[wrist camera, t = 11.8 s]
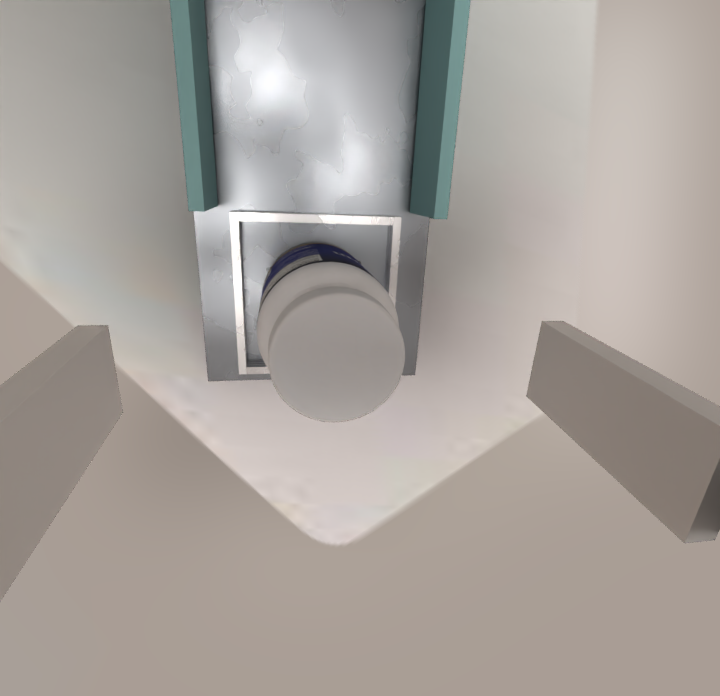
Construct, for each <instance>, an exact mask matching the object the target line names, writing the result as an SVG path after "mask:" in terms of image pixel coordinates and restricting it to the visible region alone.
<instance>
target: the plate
mask: <svg viewBox="0 0 720 696" xmlns="http://www.w3.org/2000/svg"><path fill="white" fill-rule="evenodd" d="M204 8H205V23H206V38H207V53H208V67H209V82H210V97H211V112H212V127H213V142H214V156H215V171H216V186H217V201H218V206H217V207H215V208H212V209H210V210H207V211H205V212H201V211H194V222H195V234H196V245H197V257H198V269H199V280H200V292H201V304H202V315H203V327H204V338H205V350H206V362H207V373H208V381H230V380H264V379H271V377H270V372H269V369H268V368H267V366H266V364H265V363H264V361H263V359H262V356H261V354H260V351H259V347H258V341H257V319H258V313H259V307H260V302H261V296H262V290H263V285H264V281H265V279H266V276H267V274H268V272H269V270H270V268H271V267H272V265H273V264H274V263H275V262H276V260H277V259H278V258H279V257H280V256H281V255H283V254H284V253H285V252H287V251H288V250H290V249H292V248H294V247H296V246H299V245H302V244H307V243H327V244H332V245H335V246H337V247H340V248H342V249H343V250H345V251H347V252H348V253H349V254H351V255H352V256H353V257H354V258H355V259H356V260H357V261H358V262H359V263H360V264H361V265H362V266H363V267H364V268H365V269H366V270H367V271H368V272H369V273H370V274H371V275H372V276H373V277H374V278H375V279H376V280H377V281H378V282H379V283H380V284H381V285H382V286H383V287H384V288H385V290H386V291H387V293H388V294H389V296H390V298H391V299H392V301H393V304H394V306H395V309H396V312H397V316H398V322H399V329H400V331H401V334H402V337H403V341H404V346H405V363H404V368H403V372H402V375H415V370H416V359H417V348H418V337H419V326H420V316H421V305H422V294H423V283H424V272H425V262H426V251H427V240H428V229H429V217H425V216H421V215H417V214H413V213H410V202H411V189H412V176H413V163H414V150H415V137H416V124H417V111H418V98H419V85H420V72H421V59H422V47H423V34H424V21H425V8H426V0H204Z"/></svg>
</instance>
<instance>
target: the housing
mask: <svg viewBox="0 0 720 696" xmlns="http://www.w3.org/2000/svg"><path fill="white" fill-rule="evenodd" d="M170 8H171V20H172V31H173V42H174V53H175V64H176V75H177V86H178V98H179V109H180V120H181V131H182V142H183V153H184V164H185V176H186V187H187V198H188V209H189V211H201V212H205V211H207V210H210V209H212V208H215V207H217V206H218V201H217V186H216V171H215V156H214V142H213V127H212V112H211V97H210V82H209V67H208V53H207V38H206V23H205V8H204V0H170ZM469 9H470V0H426V8H425V21H424V34H423V47H422V59H421V72H420V85H419V98H418V111H417V124H416V137H415V150H414V163H413V176H412V189H411V202H410V213H413V214H417V215H421V216H425V217H429V218H433V219H447V216H448V207H449V197H450V188H451V178H452V169H453V159H454V150H455V141H456V131H457V122H458V112H459V103H460V93H461V84H462V75H463V65H464V56H465V46H466V37H467V28H468V18H469Z"/></svg>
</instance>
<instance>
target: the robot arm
mask: <svg viewBox="0 0 720 696" xmlns="http://www.w3.org/2000/svg"><path fill="white" fill-rule="evenodd" d="M526 396H527V397H528V398H529V399H530V400H531V401H532V402H533V403H534V404H535V405H536V406H538V407H539V408H540V409H541V410H542V411H543V412H544V413H545V414H546V415H547V416H548V417H549V418H550V419H551V420H553V421H554V422H555V423H556V424H557V425H558V426H559V427H560V428H561V429H562V430H563V431H564V432H566V433H567V434H568V435H569V436H570V437H571V438H572V439H573V440H574V441H575V442H576V443H577V444H578V445H579V446H580V447H581V448H583V449H584V450H585V451H586V452H587V453H588V454H589V455H590V456H591V457H592V458H593V459H594V460H596V462H598V463H599V464H600V465H601V466H602V467H603V468H604V469H605V470H606V471H607V472H608V473H609V474H611V475H612V476H613V477H614V478H615V479H616V480H617V481H618V482H619V483H620V484H621V485H622V486H623V487H624V488H626V489H627V490H628V491H629V492H630V493H631V494H632V495H633V496H634V497H635V498H636V499H637V500H638V501H639V502H640V503H642V504H643V505H644V506H645V507H646V508H647V509H648V510H649V511H650V512H651V513H652V514H653V515H655V516H656V517H657V518H658V519H659V520H660V521H661V522H662V523H663V524H664V525H665V526H666V527H667V528H668V529H669V530H670V531H672V532H673V533H674V534H675V535H676V536H677V537H678V538H679V539H680V540H681V541H682V542H683V543H693V542H702V541H711V540H715V539H716V537H717V534H718V532H719V530H720V406H718V405H716V404H715V403H713V402H711V401H709V400H707V399H705V398H704V397H702V396H700V395H698V394H696V393H695V392H693V391H691V390H689V389H687V388H685V387H683V386H682V385H680V384H678V383H676V382H674V381H672V380H670V379H669V378H667V377H665V376H663V375H661V374H659V373H658V372H656V371H654V370H652V369H650V368H649V367H647V366H645V365H643V364H641V363H639V362H638V361H636V360H634V359H632V358H630V357H628V356H626V355H625V354H623V353H621V352H619V351H617V350H615V349H614V348H612V347H610V346H608V345H606V344H604V343H603V342H601V341H599V340H597V339H595V338H593V337H592V336H590V335H588V334H586V333H584V332H582V331H581V330H579V329H577V328H575V327H573V326H571V325H570V324H568V323H566V322H564V321H542V323H541V328H540V333H539V338H538V342H537V347H536V352H535V357H534V362H533V366H532V371H531V376H530V381H529V386H528V390H527V395H526ZM122 413H123V409H122V403H121V397H120V392H119V386H118V380H117V374H116V370H115V363H114V357H113V352H112V346H111V340H110V335H109V329H108V325H88V326H77V327H75V328H74V329H73V330H71V331H70V332H69V333H67V334H66V335H65V336H64V337H62V338H61V339H60V340H58V341H57V342H56V343H55V344H53V345H52V346H51V347H49V348H48V349H47V350H46V351H44V352H43V353H42V354H40V355H39V356H38V357H36V358H35V359H34V360H33V361H32V362H30V363H29V364H27V365H26V366H25V367H24V368H22V369H21V370H20V371H18V372H17V373H16V374H14V375H13V376H12V377H11V378H9V379H8V380H7V381H6V382H4V383H3V384H2V385H0V601H1V600H2V598H3V597H4V595H5V594H6V592H7V591H8V589H9V587H10V586H11V584H12V583H13V581H14V580H15V578H16V576H17V575H18V574H19V572H20V571H21V569H22V568H23V566H24V564H25V563H26V561H27V560H28V558H29V557H30V555H31V553H32V552H33V551H34V549H35V547H36V546H37V544H38V543H39V541H40V540H41V538H42V537H43V535H44V534H45V532H46V530H47V529H48V527H49V526H50V524H51V523H52V521H53V520H54V518H55V517H56V515H57V513H58V512H59V510H60V509H61V507H62V506H63V504H64V503H65V501H66V500H67V498H68V497H69V495H70V493H71V492H72V490H73V489H74V487H75V486H76V484H77V483H78V481H79V480H80V478H81V476H82V475H83V473H84V472H85V470H86V469H87V467H88V466H89V464H90V463H91V461H92V460H93V458H94V456H95V455H96V453H97V452H98V450H99V449H100V447H101V445H102V444H103V443H104V441H105V439H106V438H107V436H108V435H109V433H110V432H111V430H112V429H113V427H114V425H115V424H116V422H117V421H118V419H119V418H120V416H121V415H122Z"/></svg>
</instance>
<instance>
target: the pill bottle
mask: <svg viewBox="0 0 720 696" xmlns="http://www.w3.org/2000/svg"><path fill="white" fill-rule="evenodd" d="M257 341H258V347H259V351H260V354H261V356H262V359H263V361H264V363H265V364H266V366H267V368H268V369H269V372H270V377H271V380H272V382H273V385H274V387H275V389H276V390H277V392H278V394H279V395H280V397H281V398H282V399H283V400H284V401H285V402H286V403H287V404H288V405H289V406H290V407H291V408H293V409H294V410H295V411H297V412H298V413H300V414H302V415H304V416H306V417H309V418H312V419H315V420H319V421H323V422H343V421H349V420H353V419H357V418H360V417H362V416H364V415H366V414H368V413H370V412H372V411H374V410H375V409H376V408H378V407H379V406H380V405H381V404H383V403H384V402H385V401H386V400H387V399H388V398H389V396H390V395H391V394H392V393H393V391H394V390H395V388H396V386H397V385H398V383H399V380H400V378H401V375H402V372H403V368H404V363H405V346H404V341H403V337H402V334H401V331H400V329H399V322H398V316H397V312H396V309H395V306H394V304H393V301H392V299H391V298H390V296H389V294H388V293H387V291H386V290H385V288H384V287H383V286H382V285H381V284H380V283H379V282H378V281H377V280H376V279H375V278H374V277H373V276H372V275H371V274H370V273H369V272H368V271H367V270H366V269H365V268H364V267H363V266H362V265H361V264H360V263H359V262H358V261H357V260H356V259H355V258H354V257H353V256H352V255H351V254H349V253H348V252H347V251H345V250H343V249H342V248H340V247H337V246H335V245H332V244H327V243H307V244H302V245H299V246H296V247H294V248H292V249H290V250H288V251H287V252H285V253H284V254H283V255H281V256H280V257H279V258H278V259H277V260H276V262H275V263H274V264H273V265H272V267H271V268H270V270H269V272H268V274H267V276H266V279H265V281H264V285H263V290H262V296H261V302H260V307H259V313H258V319H257Z"/></svg>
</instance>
